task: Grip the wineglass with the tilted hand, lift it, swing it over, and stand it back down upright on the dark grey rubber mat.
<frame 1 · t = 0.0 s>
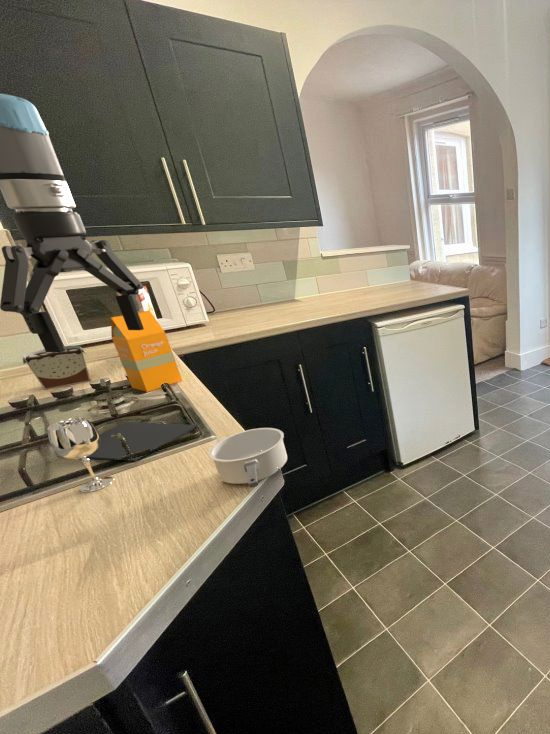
hand: (99, 339, 75), 23 cm above the worktop, tool pointing down, fingers open, 13 cm apart
saucepan: (257, 482, 73), on the worktop
cracker box: (152, 346, 153), on the worktop
orange juice: (157, 384, 117), on the worktop
wineglass: (97, 485, 73), on the worktop
mat: (131, 441, 87), on the worktop
food container: (69, 383, 120), on the worktop
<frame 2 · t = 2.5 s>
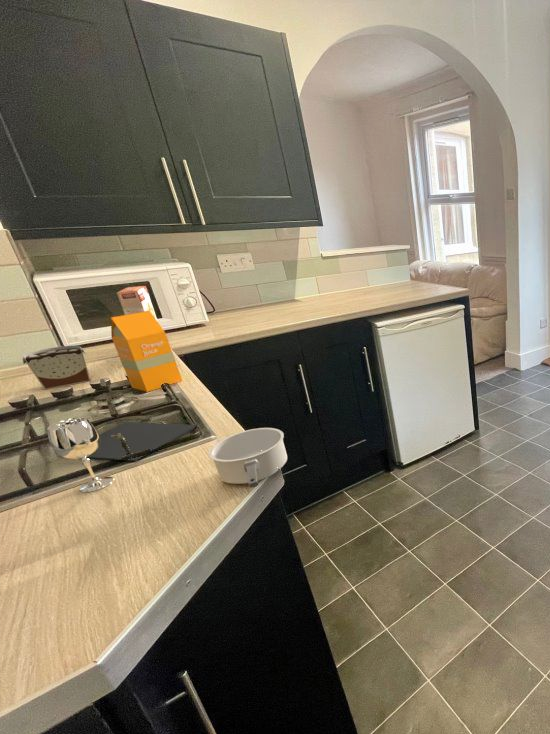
nothing on the worktop moved.
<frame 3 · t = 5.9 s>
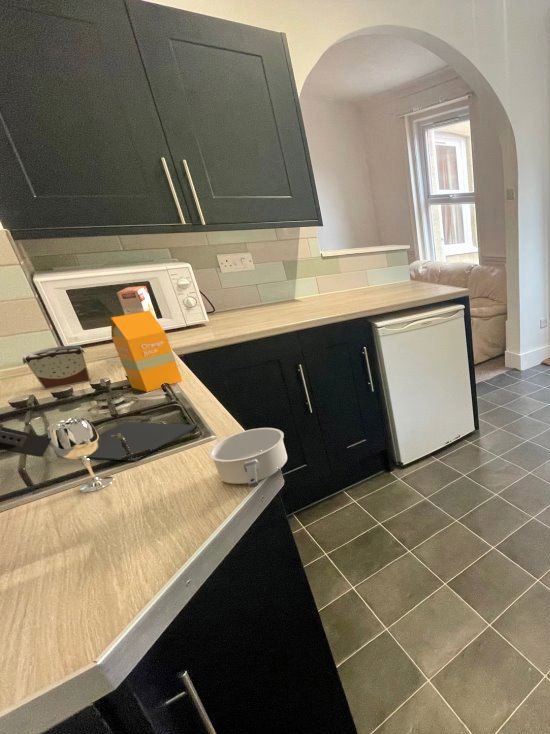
hand: (7, 445, 61), 13 cm above the worktop, tool tilted 45°, fingers open, 13 cm apart
nothing on the worktop moved.
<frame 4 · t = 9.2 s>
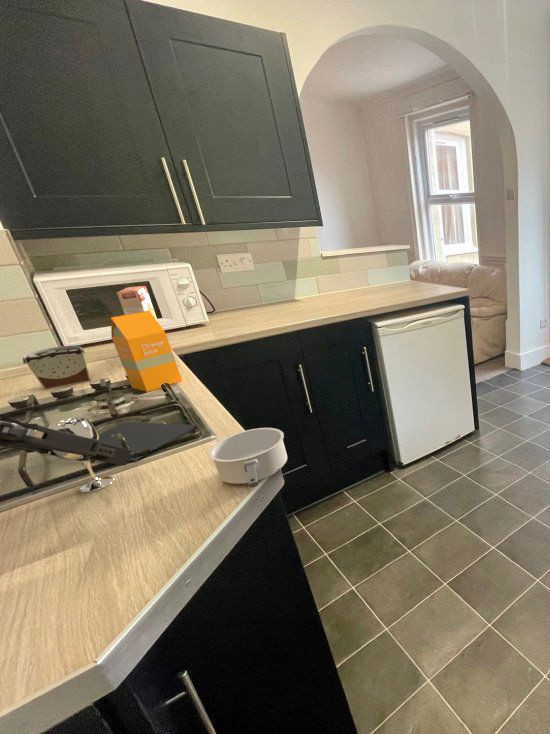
hand: (110, 456, 75), 3 cm above the worktop, tool tilted 45°, fingers closed on wineglass, 6 cm apart
wineglass: (97, 485, 73), on the worktop, touching gripper
everything else where it was.
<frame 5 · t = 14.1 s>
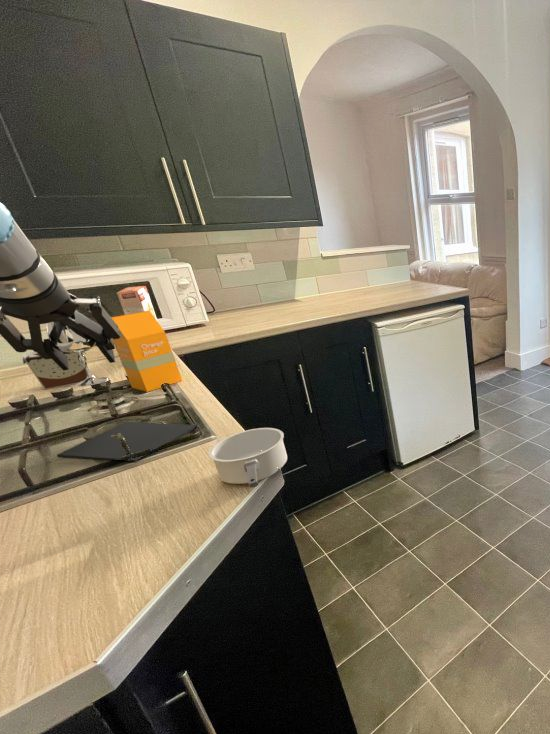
hand: (88, 360, 79), 18 cm above the worktop, tool tilted 45°, fingers closed on wineglass, 6 cm apart
wineglass: (92, 383, 78), point 15 cm above the worktop, touching gripper
everything else where it was.
when the fingers open (4 cm above the worktop, at t = 18.9 s): wineglass stays where it is, resting on mat.
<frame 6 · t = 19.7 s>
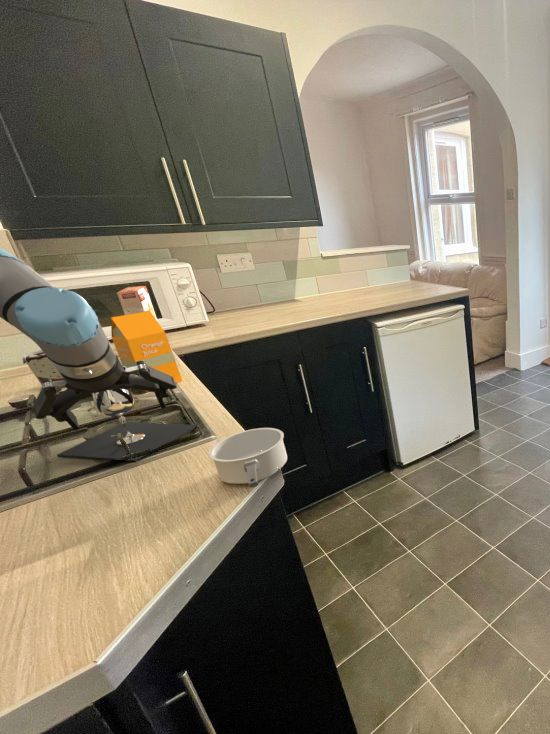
hand: (120, 412, 86), 6 cm above the worktop, tool tilted 45°, fingers open, 13 cm apart
wineglass: (131, 439, 87), resting on mat
everything else where it was.
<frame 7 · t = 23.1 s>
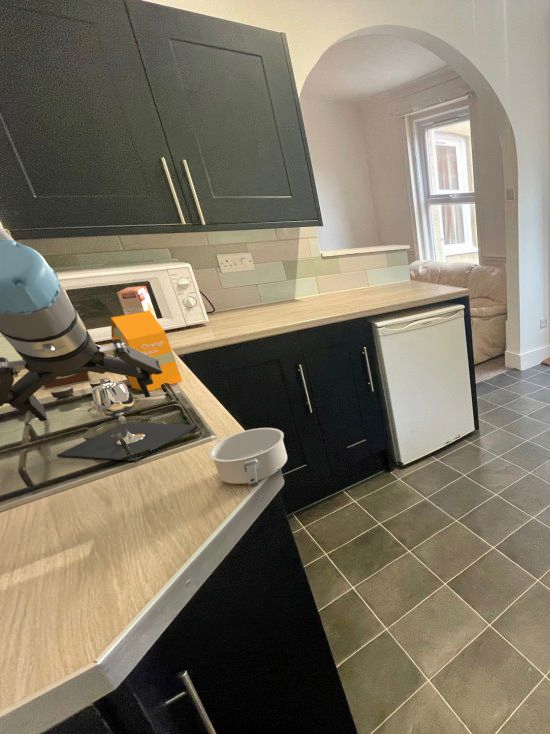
hand: (97, 401, 74), 13 cm above the worktop, tool tilted 45°, fingers open, 13 cm apart
nothing on the worktop moved.
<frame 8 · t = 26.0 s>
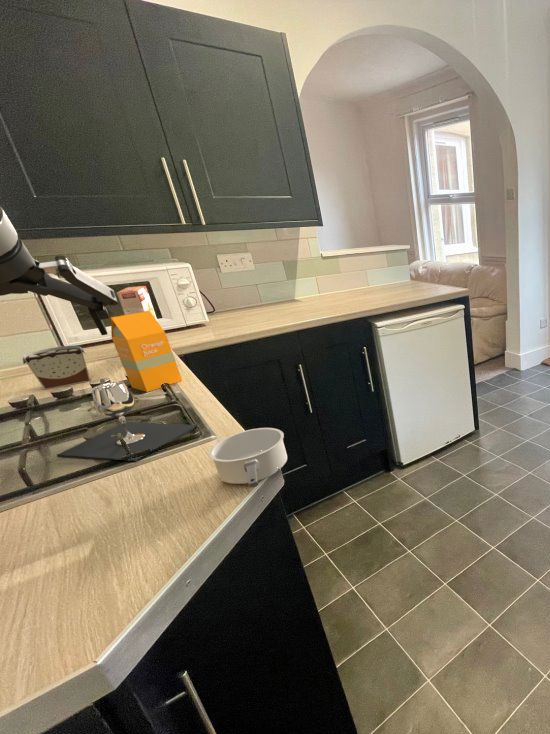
hand: (45, 336, 67), 26 cm above the worktop, tool tilted 45°, fingers open, 13 cm apart
nothing on the worktop moved.
at the end: wineglass inside the target area on the mat (0.1 cm from its centre), point 0.3 cm above the mat's base; wineglass tilted 0°; the gripper is holding nothing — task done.
